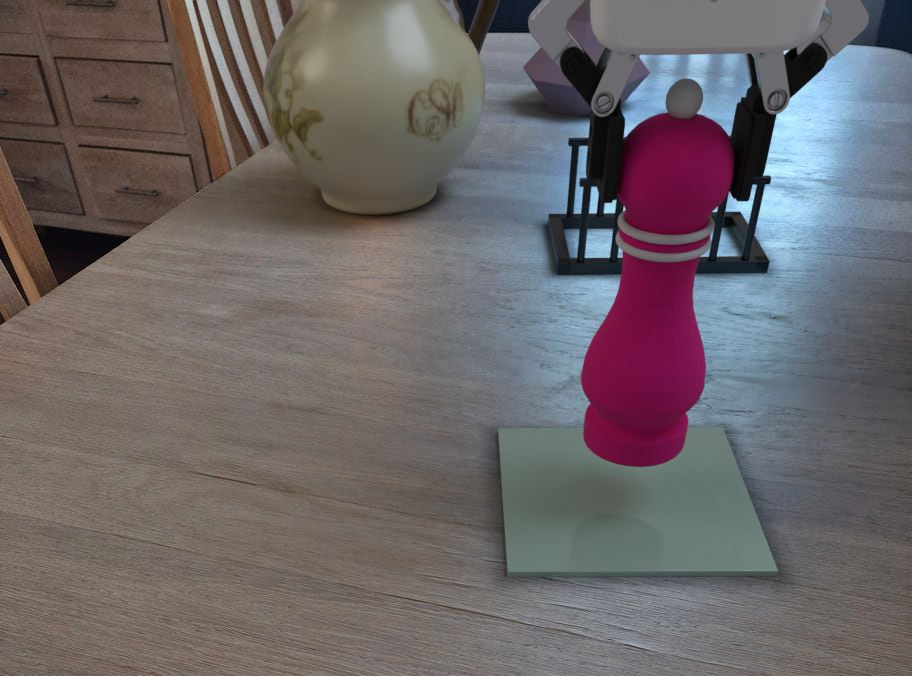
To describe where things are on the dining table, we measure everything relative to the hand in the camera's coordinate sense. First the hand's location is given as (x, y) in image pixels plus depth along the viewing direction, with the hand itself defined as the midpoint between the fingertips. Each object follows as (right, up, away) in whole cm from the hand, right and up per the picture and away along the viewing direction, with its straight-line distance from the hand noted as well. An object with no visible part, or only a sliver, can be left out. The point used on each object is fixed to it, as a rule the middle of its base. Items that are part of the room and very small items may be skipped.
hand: (670, 189), depth 49 cm
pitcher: (-18, +26, +55) cm, 63 cm away
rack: (+9, +15, +43) cm, 46 cm away
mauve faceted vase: (+8, +47, +77) cm, 90 cm away
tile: (0, -14, +14) cm, 19 cm away
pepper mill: (0, -11, +11) cm, 15 cm away
